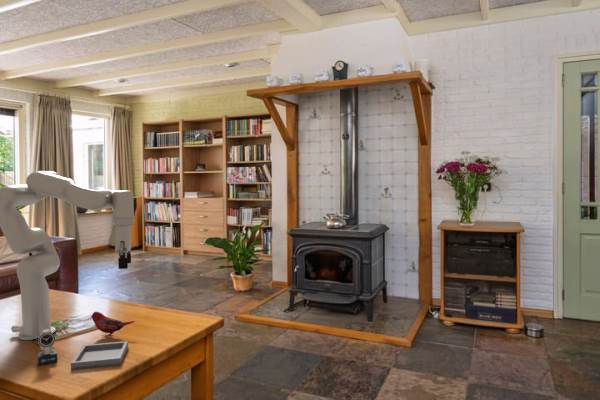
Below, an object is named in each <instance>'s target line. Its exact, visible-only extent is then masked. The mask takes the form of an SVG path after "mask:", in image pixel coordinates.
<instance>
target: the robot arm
mask: <svg viewBox="0 0 600 400" xmlns="http://www.w3.org/2000/svg"><path fill="white" fill-rule="evenodd" d="M48 197H50V198H55V199H59V200H62V201H65V202H66V203H68V204H70V205H72V206H75V207H78V208H82V209H86V210H89V211H90V210H91V211H101V210H107V209H112V222H113V223H112V225H113V228H114V227H115V231H114V232H115V233H114V234H115V236H114V237H115V239H114V241H115V243H114V252H115V253H116V254H117V253H118V259H117V260H118V263H117V264H118V266H117V267H118V269H119V270H125V269H126V270H127V269H128V268H129V265H128V264H131V263H132V253H131V250H132V242H133V241H132V238H133V237H132V227H134V226H135V209H134V205H135V204H134V193H133V191H132V190H129V189H125V190H124V189H122V190H115V189H91V188H90V189H89V188H86V187H83V186H79V185H77V184H76V182H75V180H74V179H71V178H68V177H65V176H61V174H59V173H58V172H55V171H52V170H35V171H33V172H30V173H29V175H27V177H26V179H25V184H10V185H9V184H8V185H3V186H1V187H0V229H1V232H2V234H3V235H4V238H5V240H6V242H7V243H8V246H9V248H10V250H11V251H12V252H13V254H15V255H17V256H19V255H27V254H30V253H31V255H29V256H26V257H25V258H23V259H21V260H20V261H19V262H18V263H17V266H16V275H17V279H18V284H19V288H20V299H21V317H22V319H21V320H22V324H20V325H12V326H11V328H10V329H11V332H12V333H18V339H19V340H21V341H34V340H33V339H36V338H39V337H40V334H41V333H42V330H47V329H50V331H52V333H54V332H55V331H56V329H57V328H56V327H55V326H52V323H51V321H52V320H51V303H50V301H51V299H50V287H49V284H48V281H47V280H46V277H47V276H49V275H52V274H54V273H56V272H57V271H58V270H59V268H60V266H61V261H60V257H59V254H58V251H57V250H56V247H55V246H54V244H53V241H52V239H51V237H50V235H49V233H48V232H47V231H46V230H44V229H43V228H41V227H31V228H30V226H29V225H28V223H27V220H26V218H25V216H24V215H23V214H22V213H21V212H20V211H19V210H18V209H17V207H25V206H32V205H34V204H36V203H37V204H38V202H40V201H42V200H45V199H46V198H48ZM55 333H56V332H55ZM55 333H54V334H55ZM36 340H37V339H36Z"/></svg>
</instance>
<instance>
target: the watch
mask: <svg viewBox="0 0 600 400" xmlns="http://www.w3.org/2000/svg"><path fill="white" fill-rule="evenodd" d="M56 340H58V339H57V337H56V335H55V333H54V334H53V333H52V331H50V329H47V330H42V333H41V334H40V337H39V339H37V342H38V345H39V347H40V349H41V351H42V352H37V365H38V366H37V367H38V368H39V367H43V366H44V367H45V366H47V365H53V364H57V363H59V362H58V352H57V349H53V348H54V345H55V341H56Z"/></svg>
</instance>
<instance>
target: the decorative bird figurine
mask: <svg viewBox="0 0 600 400" xmlns="http://www.w3.org/2000/svg"><path fill="white" fill-rule="evenodd" d="M90 318H91V319H92V321H93V323H94V326H95V327H96V328H97V330H98V331H100V332H102V333H105V334H103V335H101V337H106V338H108V337H111V338H112V337H115V335H114V333H115V332H117V331H120V330H121V329H122V328H124V327H126V326H127V325H130V324H133V323H135V322H136V321H135V320H132V321H126V322H122V321H121V320H117V319H115V318H111V317H108V316H105V314H103V313H102V312H99V311H94V312H93V313H92V314H91V316H90Z"/></svg>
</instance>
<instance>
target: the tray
mask: <svg viewBox="0 0 600 400" xmlns="http://www.w3.org/2000/svg"><path fill="white" fill-rule="evenodd" d="M128 350H129V341H115V342H114V341H113V342H105V343H91V344H83V345H82V347H80V349H79V351H78V352H77V354H76V355H75V356H74V358H72V361H71V362H70V370H71V371H77V370H79V371H80V370H88V368H89V369H97V368H98V369H99V368H108V367H118V366H122V363H123V361H124V358H125V356H126V355H127V352H128Z"/></svg>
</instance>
